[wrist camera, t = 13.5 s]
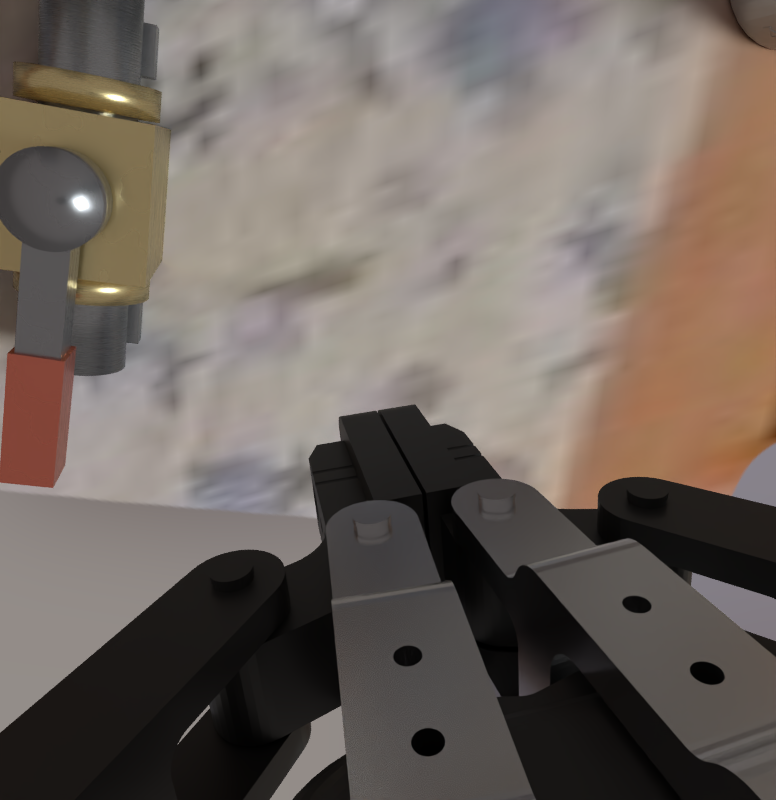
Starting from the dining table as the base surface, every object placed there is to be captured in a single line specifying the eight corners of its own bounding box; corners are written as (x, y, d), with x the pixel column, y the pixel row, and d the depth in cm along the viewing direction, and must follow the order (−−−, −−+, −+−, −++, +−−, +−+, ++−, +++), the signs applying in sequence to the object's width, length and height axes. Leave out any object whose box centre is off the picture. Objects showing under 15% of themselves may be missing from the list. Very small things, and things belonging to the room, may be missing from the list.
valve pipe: (28, -18, 33) (-32, -67, 26) (178, 16, 35) (164, -20, 27) (26, 339, 39) (-24, 386, 31) (155, 353, 40) (138, 400, 33)
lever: (14, 135, 28) (-5, 134, 26) (117, 159, 29) (108, 160, 27) (-7, 457, 32) (-24, 480, 30) (85, 467, 33) (74, 489, 31)
